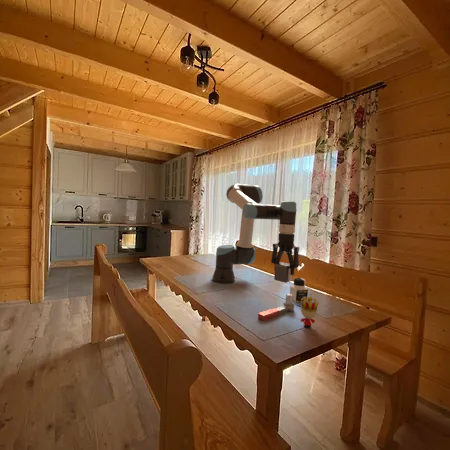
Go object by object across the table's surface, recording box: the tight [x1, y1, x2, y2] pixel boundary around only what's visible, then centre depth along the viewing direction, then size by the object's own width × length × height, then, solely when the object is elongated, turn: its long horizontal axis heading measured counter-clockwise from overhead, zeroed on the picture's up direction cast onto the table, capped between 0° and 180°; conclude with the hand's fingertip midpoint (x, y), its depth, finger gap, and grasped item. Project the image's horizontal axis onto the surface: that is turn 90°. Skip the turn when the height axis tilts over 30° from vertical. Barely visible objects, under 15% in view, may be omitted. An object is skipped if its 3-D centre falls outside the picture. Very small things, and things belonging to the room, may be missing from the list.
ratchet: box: [257, 293, 295, 322], centre depth 123 cm, size 23×5×8 cm, turn 130°
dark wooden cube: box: [274, 261, 294, 284], centre depth 127 cm, size 6×6×8 cm
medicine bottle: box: [289, 277, 309, 303], centre depth 144 cm, size 7×7×12 cm
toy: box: [299, 292, 320, 329], centre depth 111 cm, size 7×7×15 cm
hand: (283, 279), depth 127 cm, fingers closed on dark wooden cube, 6 cm apart
